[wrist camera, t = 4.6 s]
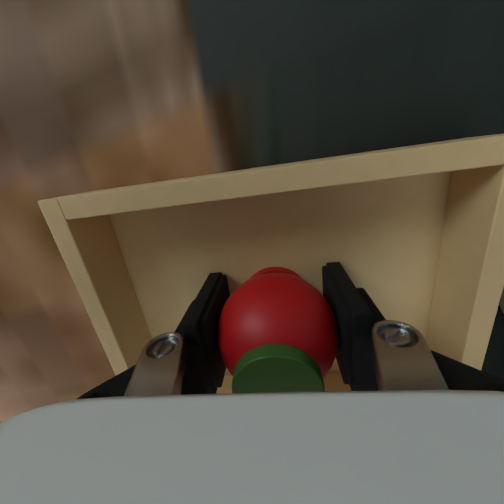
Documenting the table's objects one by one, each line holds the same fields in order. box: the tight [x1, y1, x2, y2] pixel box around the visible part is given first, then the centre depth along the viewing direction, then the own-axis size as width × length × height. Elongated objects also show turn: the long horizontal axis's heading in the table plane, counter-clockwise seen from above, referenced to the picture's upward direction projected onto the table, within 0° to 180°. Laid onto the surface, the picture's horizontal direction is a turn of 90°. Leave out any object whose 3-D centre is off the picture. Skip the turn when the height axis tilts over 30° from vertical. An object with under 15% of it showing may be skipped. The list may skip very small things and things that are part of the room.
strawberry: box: [218, 267, 338, 393], centre depth 9 cm, size 4×4×5 cm
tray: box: [38, 134, 504, 394], centre depth 11 cm, size 16×12×3 cm
